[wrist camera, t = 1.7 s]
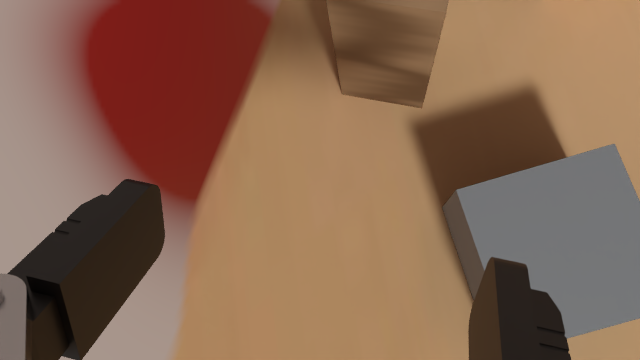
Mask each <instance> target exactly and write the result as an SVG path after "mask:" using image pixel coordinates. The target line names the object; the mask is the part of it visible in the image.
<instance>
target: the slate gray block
mask: <svg viewBox="0 0 640 360" xmlns="http://www.w3.org/2000/svg"><path fill="white" fill-rule="evenodd" d="M442 209H443V212H444V214H445V217H446V220H447V223H448V226H449V229H450V232H451V235H452V238H453V241H454V244H455V247H456V250H457V253H458V256H459V259H460V262H461V265H462V268H463V270H464V273H465V276H466V279H467V282H468V285H469V288H470V291H471V294H472V297H473V300H474V299H475V297H476V294H477V291H478V288H479V285H480V283H481V280H482V277H483V274H484V272H485V269H486V266H487V263H488V261H489V259H490V258H491V257H495V258H500V259H505V260H509V261H514V262H519V263H524V264H526V265H527V268H528V274H529V280H530V287H531V289H534V290H539V291H543V292H547V293H548V294H549V296H550V297H551V299H552V300H553V302H554V303H555V304H556V306H557V307H558V309H559V310H560V312H561V315H562V320H563V324H564V329H565V337H566V338H570V337H574V336H578V335H581V334H585V333H588V332H592V331H596V330H599V329H603V328H606V327H610V326H614V325H617V324H621V323H625V322H628V321H632V320H635V319H639V318H640V201H639V199H638V196H637V194H636V192H635V189H634V187H633V185H632V183H631V180H630V178H629V176H628V173H627V171H626V169H625V166H624V164H623V162H622V160H621V157H620V155H619V153H618V150H617V148H616V146H615V144H611V145H608V146H605V147H601V148H598V149H594V150H591V151H587V152H584V153H581V154H577V155H574V156H570V157H567V158H563V159H560V160H557V161H553V162H550V163H546V164H543V165H539V166H536V167H533V168H529V169H526V170H522V171H519V172H515V173H512V174H509V175H505V176H502V177H498V178H495V179H491V180H488V181H485V182H481V183H478V184H474V185H471V186H468V187H464V188H461V189H457V190H456V191H455V192H454V193H453V194H452V196H451V197H450V198H449V199H448V201H447V202H446V203H445V204H444V206H443V207H442Z"/></svg>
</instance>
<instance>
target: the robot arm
mask: <svg viewBox="0 0 640 360" xmlns="http://www.w3.org/2000/svg"><path fill="white" fill-rule="evenodd" d="M164 238H165V230H164V221H163V212H162V203H161V194H160V189H159V187H158V186H157V185H154V184H150V183H145V182H140V181H135V180H131V179H126V180H124V181H122V182H121V183H120V184H119V185H118V186H117V187H116V188H115V189H114V190H113V191H112V192H111V193H110V194H109V195H108V196H107V195H100V196H98V197H96V198H94V199H92V200H90V201H88V202H86V203H84V204H82V205H81V206H79V207H78V208H77V209H76V210H75V211H74V212H73V213H72V214H71V215H70V216H69V217H68V218H67V221H63V222H62V223H61V224H60V225H59V226H58V227H57V228H56V229H55V232H54V233H53V232H52V233H51V234H49V236H47V237H46V238H45V239H44V240H43V241H42V242H41V243H40V244H39V245H38V246H37V247H36V248H35V249H34V250H32V251H31V252H30V253H29V254H28V255H27V256H26V257H25V258H24V259H23V260H22V261H21V262H20V263H18V264H17V266H15V267H14V268H13V269H12V270H11V271H10V272H9V273H8V274H0V360H59V359H60V357H61V356H64V357H68V358H71V359H75V360H82V359H83V357H84V356H85V355H86V353H87V352H88V351H89V349H90V348H91V347H92V345H93V344H94V343H95V341H96V340H97V339H98V337H99V336H100V335H101V333H102V332H103V331H104V329H105V328H106V327H107V325H108V324H109V322H110V321H111V320H112V319H113V317H114V316H115V314H116V313H117V312H118V310H119V309H120V308H121V306H122V305H123V304H124V302H125V301H126V300H127V298H128V297H129V296H130V294H131V293H132V292H133V290H134V289H135V288H136V286H137V285H138V284H139V282H140V281H141V279H142V278H143V277H144V276H145V274H146V273H147V271H148V270H149V269H150V267H151V266H152V265H153V263H154V262H155V261H156V259H157V258H158V256H159V255H160V252H161V250H162V248H163V244H164ZM568 351H569V348H568V343H567V338H566V337H565V329H564V324H563V320H562V315H561V312H560V310H559V309H558V307H557V306H556V304H555V303H554V302H553V300H552V299H551V297H550V296H549V294H548V293H547V292H543V291H539V290H534V289H531V287H530V280H529V274H528V268H527V265H526V264H524V263H519V262H514V261H509V260H505V259H500V258H495V257H491V258H490V259H489V261H488V263H487V266H486V269H485V272H484V274H483V277H482V280H481V283H480V285H479V288H478V291H477V294H476V297H475V299H474V302H473V305H472V309H471V314H470V320H469V360H571V357H570V354H568Z"/></svg>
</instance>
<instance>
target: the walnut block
mask: <svg viewBox="0 0 640 360" xmlns="http://www.w3.org/2000/svg"><path fill="white" fill-rule="evenodd" d="M448 1H449V0H326V4H327V10H328V16H329V21H330V27H331V33H332V39H333V45H334V50H335V56H336V62H337V68H338V74H339V79H340V85H341V91H342V94H343V95H349V96H355V97H360V98H366V99H372V100H378V101H383V102H389V103H395V104H400V105H406V106H412V107H418V108H422V106H423V102H424V98H425V94H426V90H427V86H428V83H429V79H430V75H431V71H432V67H433V63H434V59H435V55H436V51H437V47H438V43H439V39H440V35H441V31H442V27H443V23H444V19H445V15H446V11H447V6H448Z"/></svg>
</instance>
